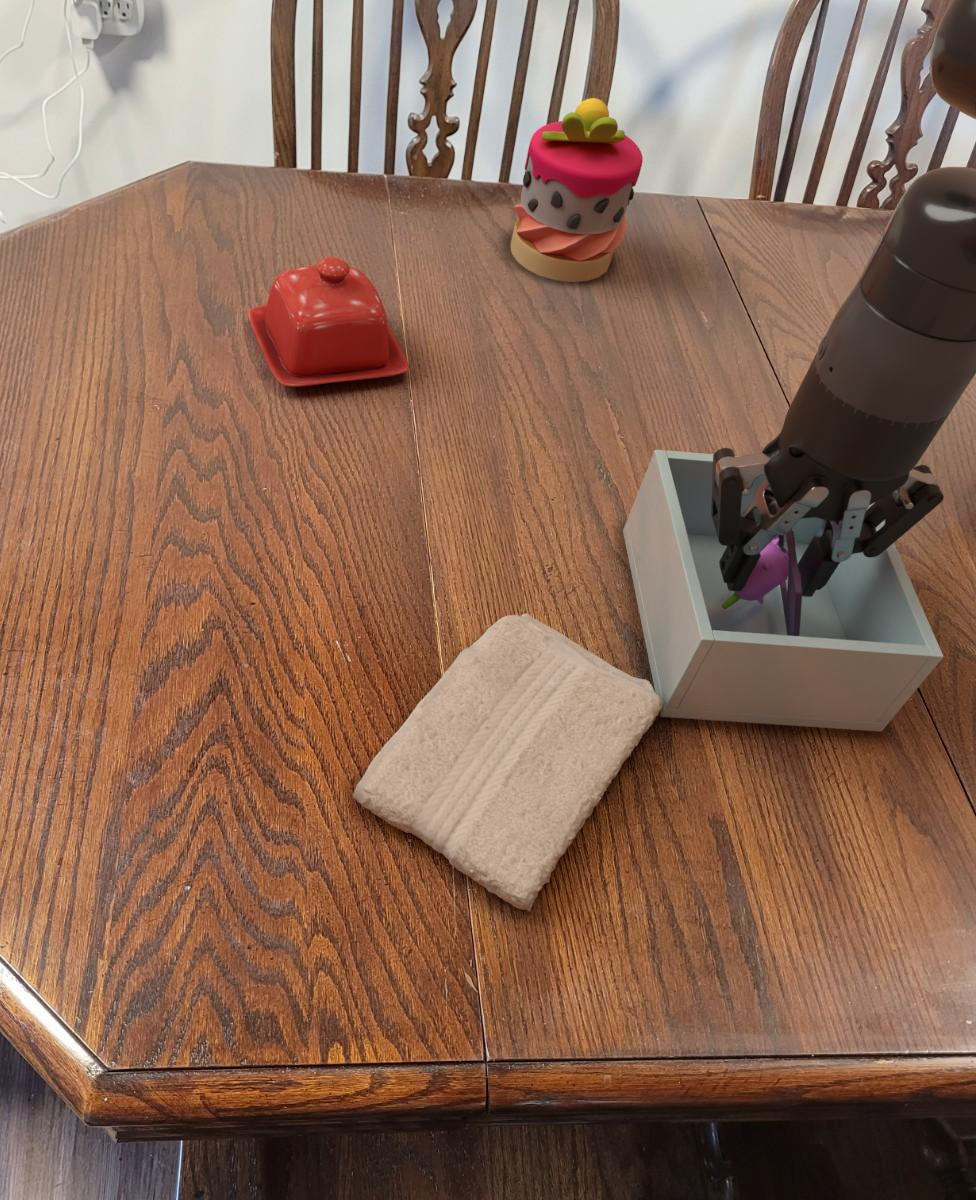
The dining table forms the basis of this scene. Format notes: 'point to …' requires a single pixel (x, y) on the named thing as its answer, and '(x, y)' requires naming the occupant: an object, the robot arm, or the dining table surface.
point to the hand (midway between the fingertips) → (766, 583)
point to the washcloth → (510, 754)
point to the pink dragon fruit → (776, 580)
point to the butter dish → (326, 327)
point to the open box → (767, 619)
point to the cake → (575, 195)
